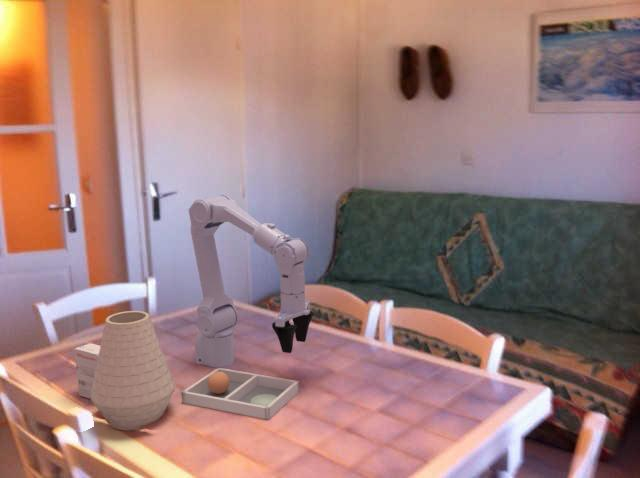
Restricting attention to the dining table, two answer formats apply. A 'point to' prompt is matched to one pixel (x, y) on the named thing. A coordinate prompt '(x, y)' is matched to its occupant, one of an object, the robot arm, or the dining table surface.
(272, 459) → the dining table surface
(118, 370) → the vase
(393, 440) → the dining table surface
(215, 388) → the ball
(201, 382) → the tray
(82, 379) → the ink box
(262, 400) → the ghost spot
